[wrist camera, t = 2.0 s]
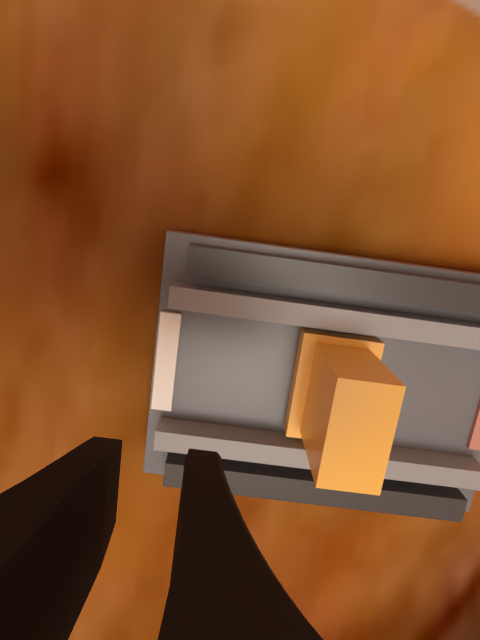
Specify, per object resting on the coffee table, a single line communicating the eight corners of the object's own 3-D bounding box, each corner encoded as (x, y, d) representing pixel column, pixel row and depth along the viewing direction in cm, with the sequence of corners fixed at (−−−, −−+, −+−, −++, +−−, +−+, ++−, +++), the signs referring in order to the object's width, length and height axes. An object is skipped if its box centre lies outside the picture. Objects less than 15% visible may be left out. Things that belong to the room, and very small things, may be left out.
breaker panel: (150, 453, 20) (136, 489, 17) (172, 230, 17) (160, 231, 15) (452, 490, 20) (483, 531, 17) (512, 277, 18) (559, 287, 15)
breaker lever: (284, 426, 18) (297, 494, 13) (301, 327, 17) (322, 365, 12) (356, 436, 18) (394, 506, 13) (378, 337, 17) (425, 379, 12)
